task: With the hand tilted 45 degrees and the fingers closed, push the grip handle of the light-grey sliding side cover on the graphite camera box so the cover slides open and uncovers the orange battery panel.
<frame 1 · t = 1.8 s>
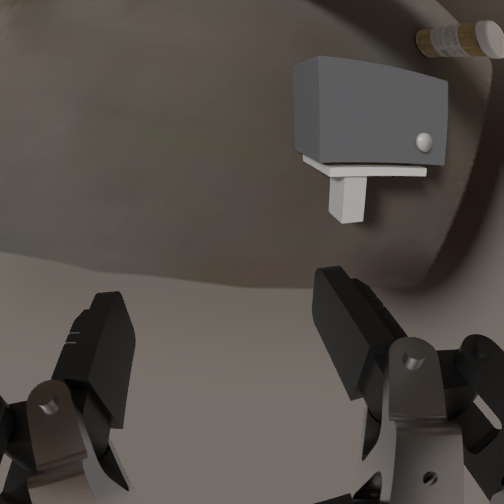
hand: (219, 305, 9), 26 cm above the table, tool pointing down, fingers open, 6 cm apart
side cover: (363, 184, 31), point 4 cm above the table, slide at 0.0 cm
sprinkles bottle: (425, 43, 27), on the table
camera box: (356, 110, 31), on the table
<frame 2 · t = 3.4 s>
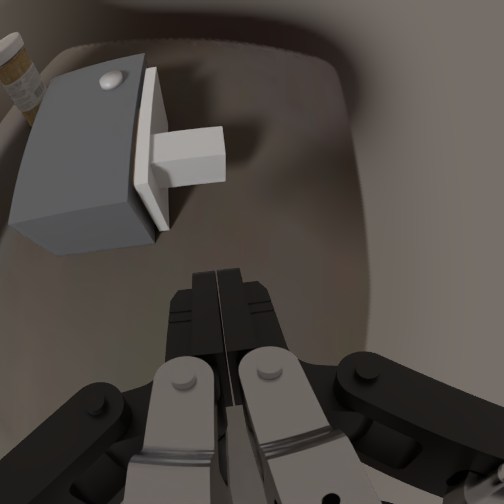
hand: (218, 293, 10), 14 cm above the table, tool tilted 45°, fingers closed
side cover: (184, 142, 23), point 4 cm above the table, slide at 0.0 cm
sprinkles bottle: (43, 116, 28), on the table
camera box: (106, 173, 26), on the table
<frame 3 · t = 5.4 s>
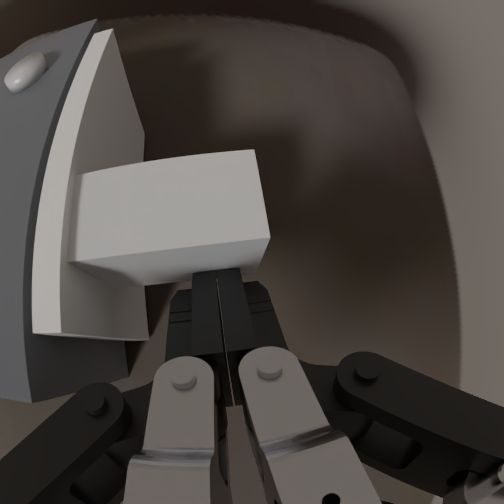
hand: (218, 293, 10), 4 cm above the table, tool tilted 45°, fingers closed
side cover: (165, 176, 11), point 4 cm above the table, slide at 0.8 cm, touching gripper
camera box: (45, 235, 14), on the table
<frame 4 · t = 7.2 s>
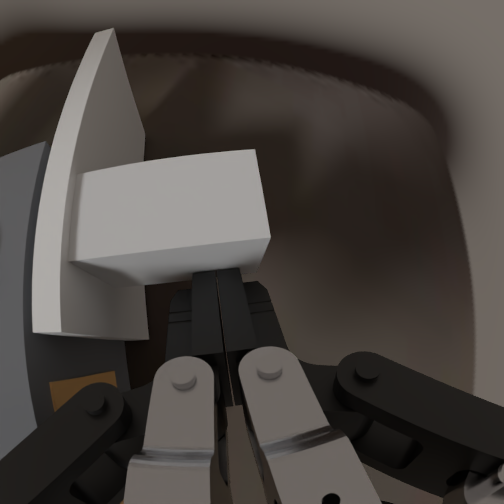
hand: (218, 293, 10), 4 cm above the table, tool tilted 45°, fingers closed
side cover: (166, 176, 11), point 4 cm above the table, slide at 9.3 cm, touching gripper
camera box: (49, 384, 12), on the table
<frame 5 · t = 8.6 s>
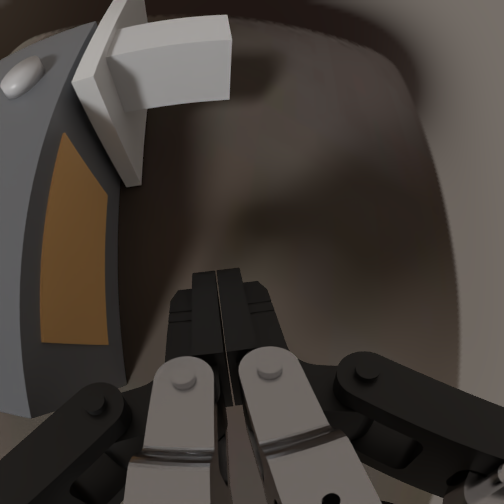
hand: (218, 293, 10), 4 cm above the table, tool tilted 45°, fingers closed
side cover: (170, 58, 13), point 4 cm above the table, slide at 9.4 cm
camera box: (44, 240, 14), on the table
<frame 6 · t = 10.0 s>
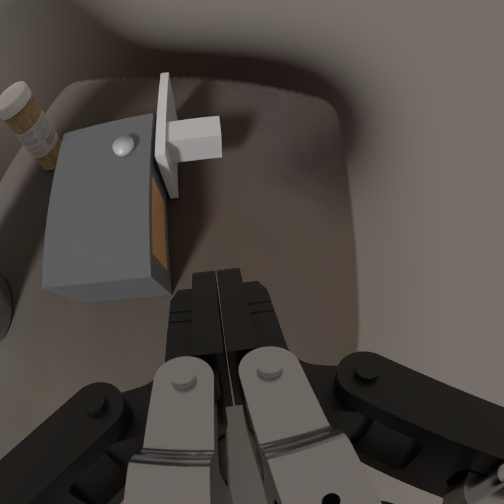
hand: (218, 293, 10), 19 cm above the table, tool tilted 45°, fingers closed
side cover: (191, 129, 29), point 4 cm above the table, slide at 9.4 cm
sprinkles bottle: (55, 158, 32), on the table
camera box: (123, 226, 30), on the table
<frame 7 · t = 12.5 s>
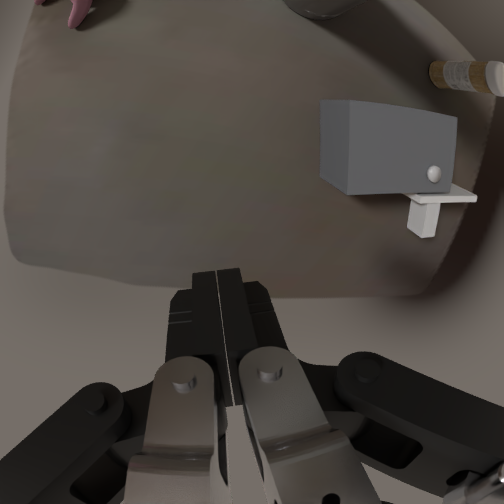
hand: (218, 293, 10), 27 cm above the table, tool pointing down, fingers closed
side cover: (431, 206, 36), point 4 cm above the table, slide at 9.4 cm
sprinkles bottle: (436, 74, 31), on the table
camera box: (374, 140, 35), on the table
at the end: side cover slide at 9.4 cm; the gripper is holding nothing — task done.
